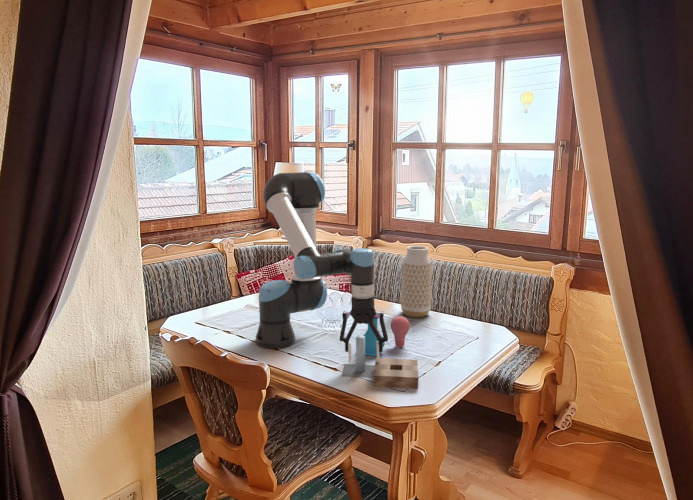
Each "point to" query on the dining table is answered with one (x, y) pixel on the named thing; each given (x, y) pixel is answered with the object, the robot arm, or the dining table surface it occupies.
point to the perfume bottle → (371, 340)
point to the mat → (350, 371)
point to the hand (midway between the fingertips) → (364, 360)
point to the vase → (416, 282)
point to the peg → (360, 354)
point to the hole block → (396, 373)
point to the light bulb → (400, 330)
